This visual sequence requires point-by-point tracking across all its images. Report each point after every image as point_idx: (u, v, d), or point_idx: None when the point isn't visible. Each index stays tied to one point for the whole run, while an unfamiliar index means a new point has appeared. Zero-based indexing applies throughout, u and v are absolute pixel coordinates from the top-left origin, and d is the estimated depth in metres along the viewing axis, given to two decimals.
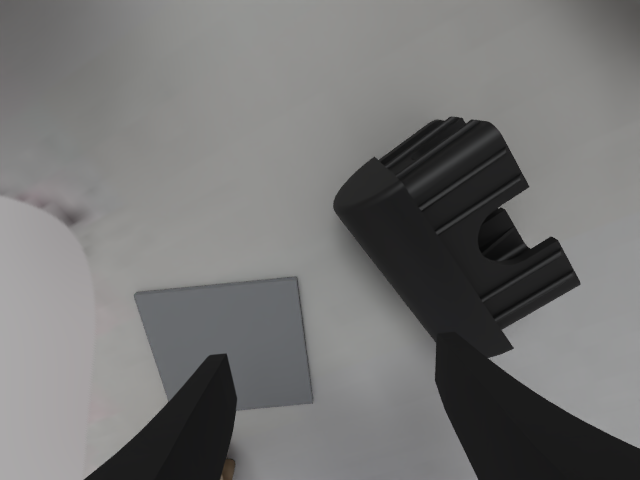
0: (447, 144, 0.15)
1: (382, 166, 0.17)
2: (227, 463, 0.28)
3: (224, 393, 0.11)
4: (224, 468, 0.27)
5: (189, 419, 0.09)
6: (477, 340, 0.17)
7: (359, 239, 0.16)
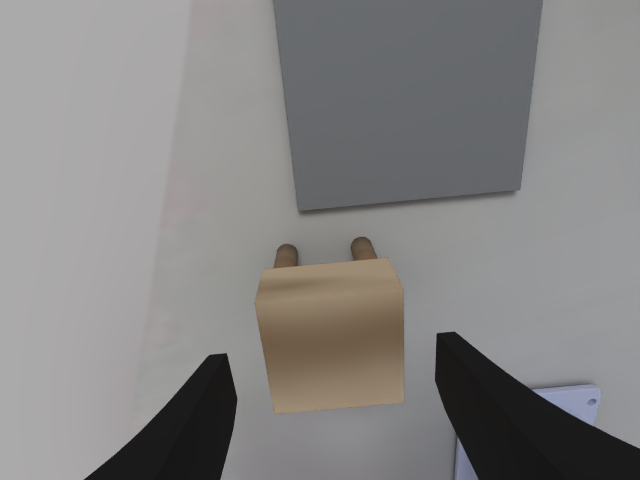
0: None
1: None
2: None
3: (224, 393, 0.11)
4: None
5: (189, 419, 0.09)
6: None
7: None
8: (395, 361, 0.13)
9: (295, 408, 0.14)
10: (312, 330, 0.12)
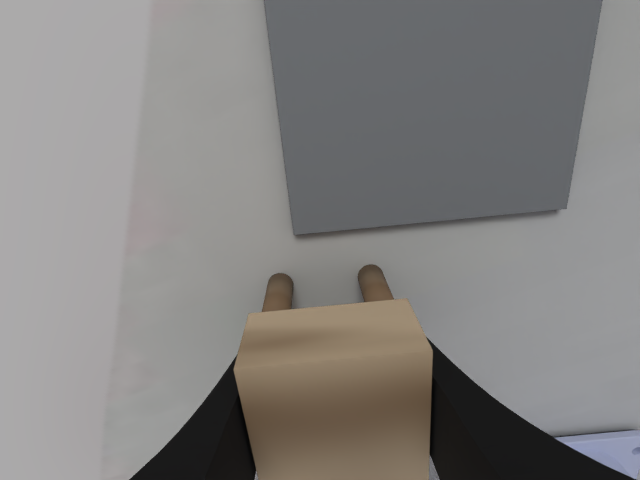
0: None
1: None
2: None
3: None
4: None
5: (230, 416, 0.09)
6: None
7: None
8: (418, 438, 0.10)
9: None
10: (310, 402, 0.09)
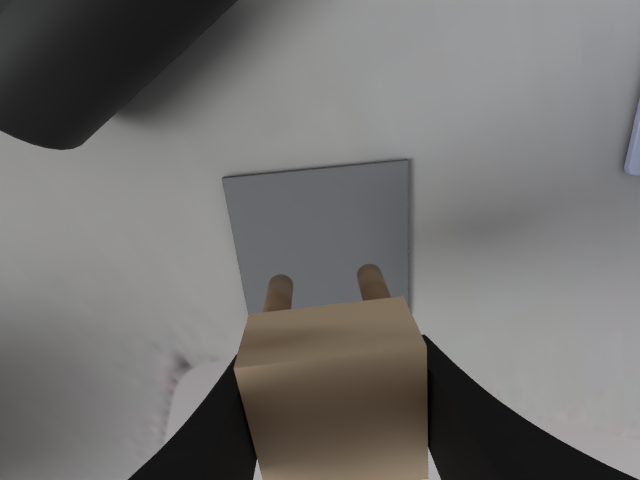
0: None
1: None
2: None
3: None
4: None
5: (229, 416, 0.09)
6: None
7: (75, 123, 0.14)
8: (417, 433, 0.10)
9: None
10: (309, 399, 0.10)
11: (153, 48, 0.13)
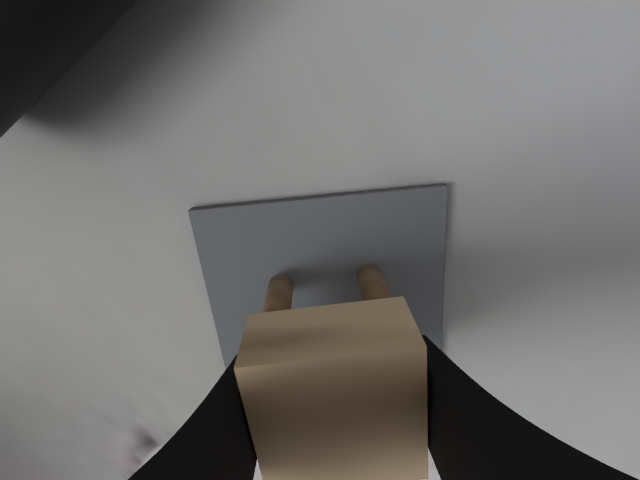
0: None
1: None
2: None
3: None
4: None
5: (229, 416, 0.09)
6: None
7: None
8: (416, 433, 0.10)
9: None
10: (309, 398, 0.10)
11: (42, 14, 0.08)
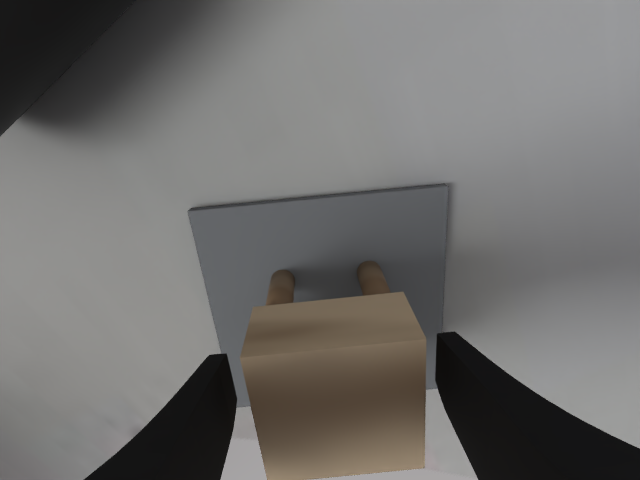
0: None
1: None
2: None
3: (224, 393, 0.11)
4: None
5: (189, 419, 0.09)
6: None
7: None
8: (414, 423, 0.11)
9: (293, 476, 0.11)
10: (312, 388, 0.10)
11: (40, 14, 0.08)
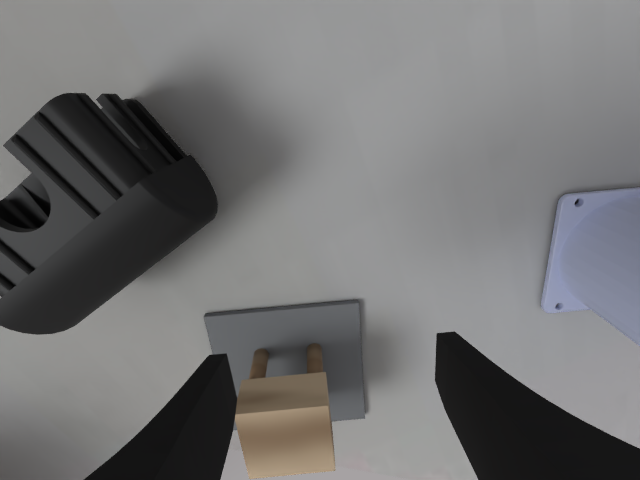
0: None
1: None
2: None
3: (224, 393, 0.11)
4: None
5: (189, 419, 0.09)
6: (141, 220, 0.14)
7: (84, 315, 0.18)
8: (327, 446, 0.20)
9: (263, 475, 0.21)
10: (271, 429, 0.19)
11: (145, 267, 0.17)
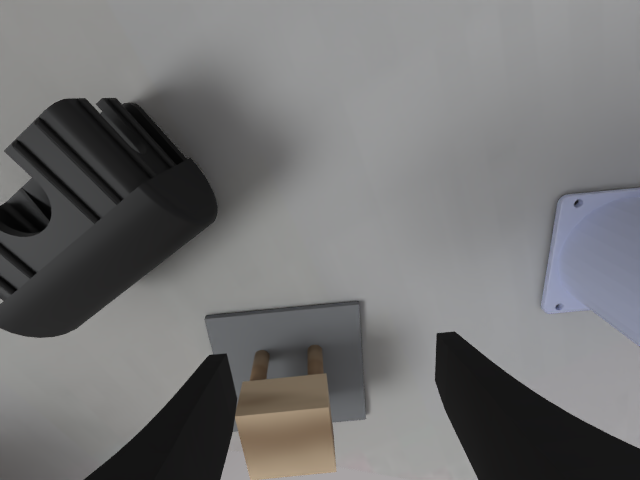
0: None
1: None
2: None
3: (224, 393, 0.11)
4: None
5: (189, 420, 0.09)
6: (141, 224, 0.14)
7: (85, 318, 0.18)
8: (328, 448, 0.20)
9: (264, 476, 0.21)
10: (272, 431, 0.19)
11: (145, 270, 0.17)
